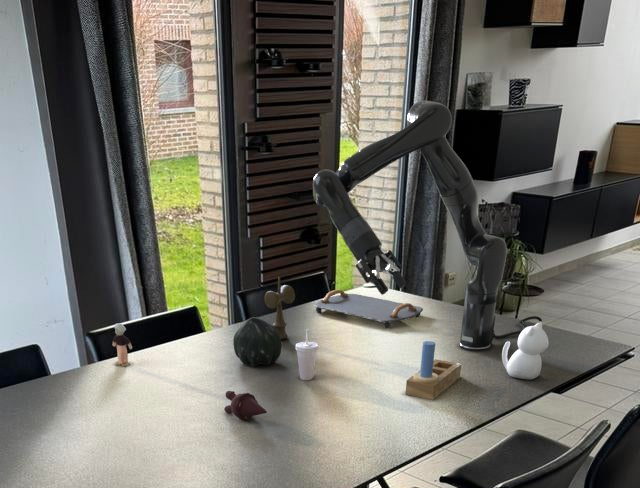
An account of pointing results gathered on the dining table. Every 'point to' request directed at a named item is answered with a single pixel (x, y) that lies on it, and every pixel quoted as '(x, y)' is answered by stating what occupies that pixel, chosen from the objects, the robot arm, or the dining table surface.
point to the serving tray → (368, 307)
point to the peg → (427, 364)
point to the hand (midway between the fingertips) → (394, 289)
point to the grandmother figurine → (121, 345)
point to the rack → (446, 377)
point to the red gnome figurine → (243, 405)
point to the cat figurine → (526, 353)
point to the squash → (257, 342)
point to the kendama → (280, 305)
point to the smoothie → (306, 358)
